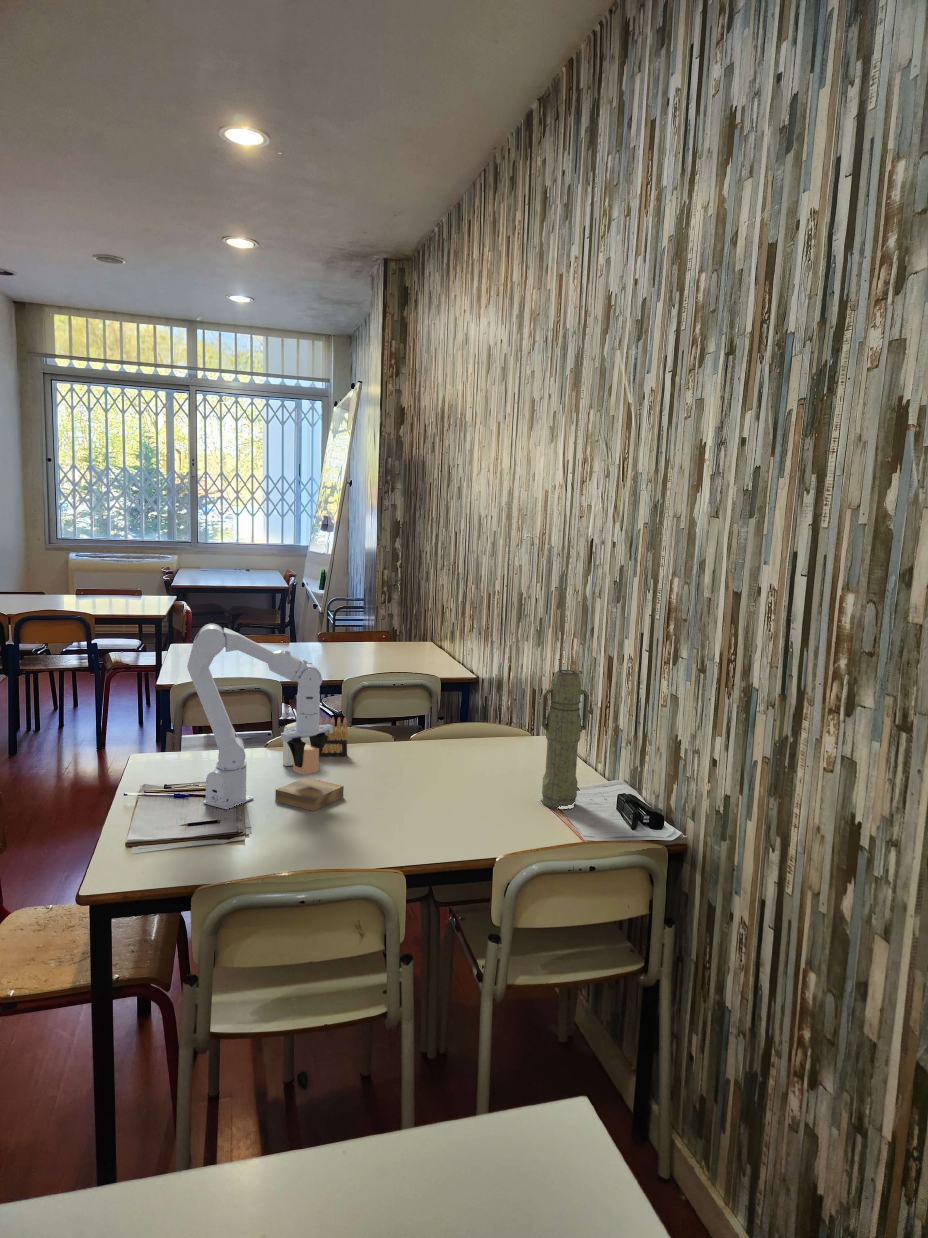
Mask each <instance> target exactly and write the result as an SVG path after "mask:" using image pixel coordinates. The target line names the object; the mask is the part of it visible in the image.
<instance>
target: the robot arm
mask: <svg viewBox="0 0 928 1238" xmlns="http://www.w3.org/2000/svg"><path fill="white" fill-rule="evenodd" d="M224 648H225V653H228V652H235V651H237V652H238V651H239V652H241V653H243V654H245V655H248V656H250V657H252V658H254V659H257V660H259V661H261V662H263V663H266V664H267V666H268V669H269V671H271V672H272V673H274V674H277V675H279V676H280V677H282V678H284V679H286V680H289V681H291V682H297V694H296V718H295V720H296V721H295V722H296V728H295V729H292V730H290V731H287V732H284V731H283V732H281V733H280V741H281V742H283V741H284V742H287V744H288V746H289V747H290V750H291V752H292V755H293V759H294V763H295V766H297V767H299V768H300V767H302V763H303V751H304V747H305V744H306V743H305V742H303V741H302V740H301V738H305V737H309V738H310V744H311V746H314V747H317V748H319V760H320V759H321V757H320V755H321V752H322V750H323V747H324V745H325V744H326V742H327V741H328V736H327V735H325V733H329V734H330V733H333V726H332V725H331V724H330V723H329V724H326V725H325V724H323V725H319V721H320V714H321V713H320V709H321V706H320V705H321V694H320V691H321V690H320V689H321V688H320V686H321V685H322V683H323V678H322V674H321V672H320V670H319V668H318V667H317V666H316V665H314V664H313V663H312V662H308V660H306V659H303V660H302V659H300V658H298V657H296V656H294V655H292V654H291V651H290V650H287V649H285V650H282V649H278V650H276V651H272V650H271V649H269V648H267V647H265V646H263V645H261V644H259V643H258V642H256V641H253V640H252V639H250V638H248V637H246V636H244V635H243V634H240V633H239V632H236V631H234V630H232V629H230V628H226V627H223V628H222V626H221V625H219V624H216V623H208V624H205V625H204V626H202V627H201V628H200V629H199V631H198V632H197V634H196V635H195V637H194V640H193V643H192V647H191V651H190V654H189V658H188V662H187V665H186V667H187V671H188V673H189V676H190V679H191V681H192V683H193V686H194V688H195V691H196V694H197V696H198V698H199V700H200V704H201V706H202V708H203V711H204V713H205V716H206V718H207V721H208V723H209V725H210V728H211V730H212V733H213V736H214V739H215V743H216V747H217V749H218V757H217V759H218V760H217V762H216V763H215V767H214V769H213V770H212V771H211V772H209V773H207V776H206V777H205V779H206V780H205V800H204V801H202V803H203V804H204V805H209V806H212V807H217V808H220V809H223V810H229V808H230V809H232V808H235V807H237V806H239V804H240V805H242V804H244V803H247V802H249V801H252V800H254V798H255V797H254V796H251V795H247V766H248V765H247V762H246V751H245V742H244V740H243V739H242V737H241V736H239V735H238V734H237V732H236V730H235V728H234V726H233V724H232V722H231V719H230V717H229V715H228V712H227V709H226V707H225V704H224V701H223V700H222V697H221V694H220V692H219V690H218V688H217V687H218V686H217V684H216V682H215V680H214V677H213V674H212V673H211V670H210V666H211V664H212V663H213V660H214V658H216V656H218V655H219V654H220V653H221V652H222V651H223V650H224ZM241 803H242V804H241ZM236 805H237V806H236ZM234 806H235V807H234Z"/></svg>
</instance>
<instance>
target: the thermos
mask: <svg viewBox="0 0 928 1238" xmlns="http://www.w3.org/2000/svg"><path fill="white" fill-rule="evenodd" d="M549 694H550V702H551V703H550V705H549V711H548V712H547V710H548V708H547V707H548V695H549ZM581 695H583V703H582V704H583V706H582V707H583V709H582V717H581V714H580V712H581V708H580V703H581V698H582V697H581ZM541 697H542V699H541V716H540V717H541V718H540V726H541V727H542V728H543V729H544V730H545V732H546V733H545V738H546V741H547V742H546V743H547V745H546V758H545V759H546V760H545V772H544V775H543V777H542V787H541V794H542V799H541V804H542V805H543V806H544V807H545V808H548V809H551V810H556V809H557V807H559V806H560V807H561V806H568V805H572V804H573V803H574V802H575V803H576V798H577V794H578V780H577V776H576V775H577V763H578V750H579V742H580V740H581V734H582V733H583V731H586V730H587V725H588V719H589V718H588V717H589V701H590V695H589V694H588V692H587V690H585V689H582V681H581V677H580V673H579V672H577V671H575V670H570V669H560V670H557V671H555V672H554V675H553V677H552V680H551V687H550V688H547V689H545V690H544V691H543V693H542V696H541Z"/></svg>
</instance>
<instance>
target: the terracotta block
mask: <svg viewBox="0 0 928 1238" xmlns="http://www.w3.org/2000/svg"><path fill="white" fill-rule="evenodd" d="M319 763H320V759H319V748H317V747H314V746H311V745H305V747H304V751H303V763H302V767H300V768H299V767H297V766H295V763H293V765H292V766H293V767H292V768H293V772H296V773H298V774H301V775H303V776H304V775H308V774H313V773H317V772H319V771H320V770H319V768H320V767H319V766H320V765H319Z"/></svg>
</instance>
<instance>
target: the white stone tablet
mask: <svg viewBox="0 0 928 1238" xmlns="http://www.w3.org/2000/svg"><path fill="white" fill-rule="evenodd" d="M295 728H296V721H294V722H291V723H289V724H287V725H286V724H285V726H284V727H283V733H284V732H287V731H290V730H292V729H295ZM301 740H302V741H303V742H305V743H306V744H305V745H311V744H310V738H309V737H305V738H301ZM282 743H283V745H282V765H283V766H285V767H289V766H291V767H292V766H293V763H294V759H293V755H292V752H291V750H290V747H289V746H288V744H287V742H284V741H282Z"/></svg>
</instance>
